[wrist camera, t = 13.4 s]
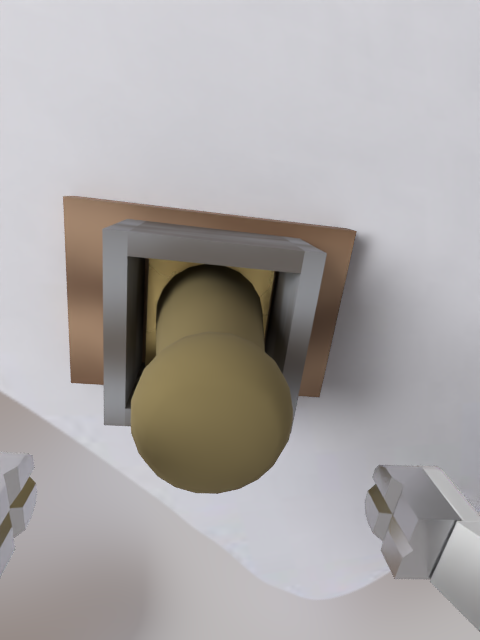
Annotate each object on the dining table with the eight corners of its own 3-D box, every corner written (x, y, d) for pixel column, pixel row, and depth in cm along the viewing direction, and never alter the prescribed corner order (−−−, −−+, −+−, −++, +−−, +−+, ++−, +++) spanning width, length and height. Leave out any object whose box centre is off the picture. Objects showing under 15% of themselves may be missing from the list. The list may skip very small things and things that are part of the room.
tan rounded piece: (262, 260, 20) (324, 342, 9) (263, 360, 22) (314, 516, 11) (149, 266, 19) (84, 358, 9) (161, 367, 21) (120, 536, 11)
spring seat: (151, 247, 20) (149, 250, 19) (272, 259, 21) (275, 263, 20) (147, 358, 22) (145, 365, 21) (256, 365, 23) (258, 373, 22)
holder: (73, 195, 20) (15, 199, 14) (346, 228, 22) (400, 244, 16) (79, 371, 24) (35, 434, 18) (313, 385, 26) (346, 447, 20)
